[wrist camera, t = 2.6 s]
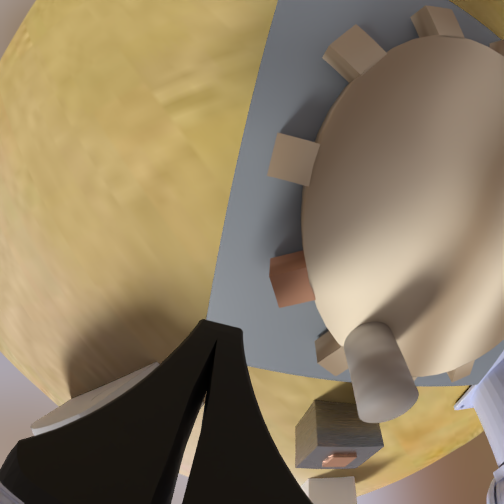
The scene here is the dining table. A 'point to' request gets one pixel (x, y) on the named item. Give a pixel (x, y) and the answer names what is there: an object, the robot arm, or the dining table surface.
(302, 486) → the white cube
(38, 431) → the grey slotted holder
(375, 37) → the base plate
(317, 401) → the link block
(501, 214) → the sprocket
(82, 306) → the dining table surface
